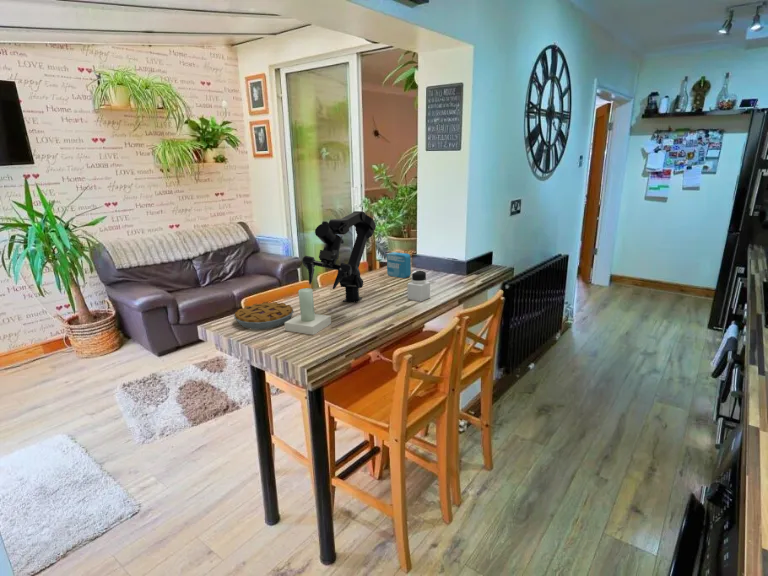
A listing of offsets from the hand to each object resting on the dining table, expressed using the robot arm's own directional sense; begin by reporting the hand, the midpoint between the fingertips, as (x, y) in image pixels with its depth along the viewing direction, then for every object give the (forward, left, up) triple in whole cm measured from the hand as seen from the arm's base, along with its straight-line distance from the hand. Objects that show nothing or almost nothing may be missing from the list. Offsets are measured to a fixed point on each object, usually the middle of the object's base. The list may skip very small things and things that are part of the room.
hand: (321, 286), depth 167 cm
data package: (-69, +9, -13) cm, 71 cm away
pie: (+8, -21, -13) cm, 26 cm away
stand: (+10, -1, -13) cm, 16 cm away
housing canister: (+10, -1, -10) cm, 14 cm away
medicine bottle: (-34, +29, -13) cm, 47 cm away
